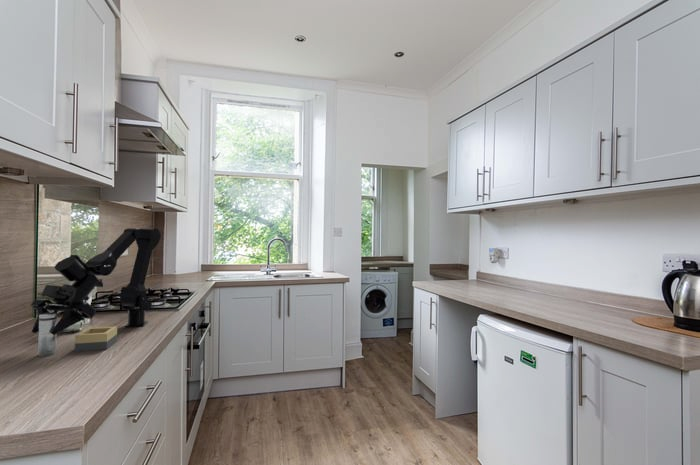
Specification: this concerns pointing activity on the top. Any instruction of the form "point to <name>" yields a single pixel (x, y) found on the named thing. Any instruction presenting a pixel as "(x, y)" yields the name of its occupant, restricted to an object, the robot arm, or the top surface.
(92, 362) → the top surface
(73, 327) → the valve
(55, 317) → the metal tumbler
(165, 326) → the top surface
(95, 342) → the collar block
